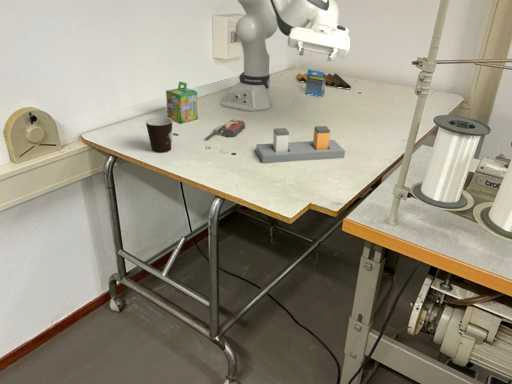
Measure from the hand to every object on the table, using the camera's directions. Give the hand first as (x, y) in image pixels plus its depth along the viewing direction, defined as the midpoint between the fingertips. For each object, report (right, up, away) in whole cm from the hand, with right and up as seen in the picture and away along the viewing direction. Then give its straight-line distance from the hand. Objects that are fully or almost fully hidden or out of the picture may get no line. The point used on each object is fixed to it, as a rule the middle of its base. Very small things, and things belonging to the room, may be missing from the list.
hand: (315, 56), depth 131 cm
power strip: (-4, -30, +9) cm, 32 cm away
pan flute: (+18, +16, +97) cm, 100 cm away
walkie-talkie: (-30, -22, +24) cm, 44 cm away
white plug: (-11, -31, +7) cm, 34 cm away
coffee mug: (-50, -28, +11) cm, 59 cm away
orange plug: (+3, -30, +10) cm, 32 cm away
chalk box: (-49, -13, +38) cm, 63 cm away
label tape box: (+11, +5, +76) cm, 76 cm away
